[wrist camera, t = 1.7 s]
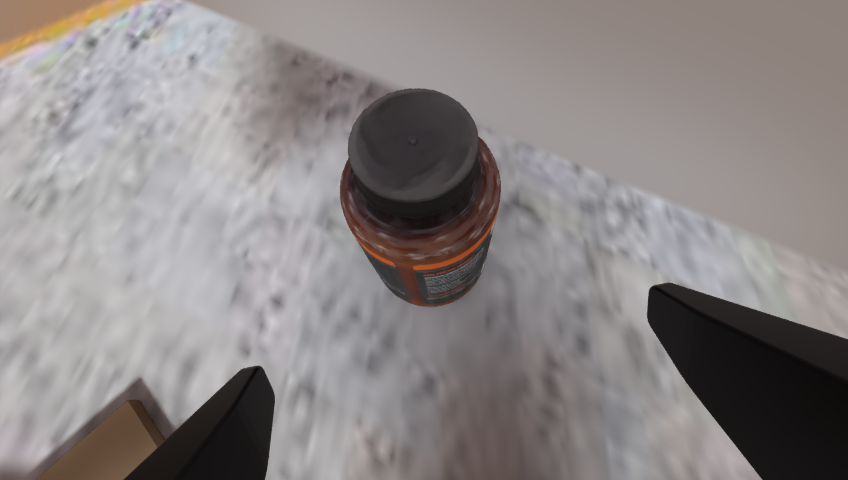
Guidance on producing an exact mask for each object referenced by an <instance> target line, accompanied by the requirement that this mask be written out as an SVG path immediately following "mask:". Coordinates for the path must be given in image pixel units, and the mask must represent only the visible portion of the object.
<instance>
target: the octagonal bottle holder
mask: <svg viewBox="0 0 848 480" xmlns="http://www.w3.org/2000/svg"><path fill="white" fill-rule="evenodd" d="M164 441H165V439H164V438H163V436H162V435H161V433H160V432H159V430H158V429H157V427H156V425H155V424H154V422H153V421H152V419H151V418H150V416H149V415H148V413H147V411H146V410H145V408H144V407H143V405H142V404H141V402H140V401H139V400H128V401H126V402H125V403H124V404H123V405H122V406H121V407H119V408H118V409H117V410H116V411H115V412H114V413H112V414H111V415H110V416H109V417H108V418H107V419H106V420H104V421H103V422H102V423H101V424H100V425H99V426H97V427H96V428H95V429H94V430H93V431H92V432H90V433H89V434H88V435H87V436H86V437H85V438H84V439H82V440H81V441H80V442H79V443H78V444H77V445H75V446H74V447H73V448H72V449H71V450H70V451H69V452H67V453H66V454H65V455H64V456H63V457H62V458H60V459H59V460H58V461H57V462H56V463H55V464H53V465H52V466H51V467H50V468H49V469H48V470H47V471H45V472H44V473H43V474H42V475H41V476H40V477H38V478H37V479H36V480H123V479H124V478H125V477H126V476H127V475H129V474H130V473H131V472H132V471H133V470H134V469H135V468H136V467H137V466H138V465H139V464H140V463H141V462H142V461H144V460H145V459H146V458H147V457H148V456H149V455H150V454H151V453H152V452H153V451H154V450H155V449H156V448H157V447H159V446H160V445H161V444H162V443H163V442H164Z"/></svg>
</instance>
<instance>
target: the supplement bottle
mask: <svg viewBox="0 0 848 480" xmlns="http://www.w3.org/2000/svg"><path fill="white" fill-rule="evenodd" d="M348 155H349V158H348V160H347V162H346V164H345V168H344V170H343V173H342V178H341V184H340V199H341V205H342V209H343V213H344V216H345V218H346V221H347V223H348V226H349V228H350V230H351V231H352V233H353V235H354V236H355V238H356V240H357V241H358V243H359V244H360V246H361V247H362V249H363V251H364V252H365V254H366V256H367V257H368V259H369V260H370V262H371V263H372V265H373V267H374V268H375V270H376V271H377V273H378V274H379V276H380V278H381V279H382V281H383V282H384V283H385V285H386V286H387V287H388V288H389V289H390V290H391V291H392V292H393V293H394V294H395V295H396V296H398V297H399V298H401V299H403V300H405V301H407V302H409V303H412V304H415V305H419V306H426V307H436V306H441V305H445V304H448V303H451V302H454V301H456V300H457V299H459V298H461V297H462V296H464V295H465V294H466V293H467V292H469V291H470V290H471V288H472V287H473V286H474V285H475V283H476V282H477V280H478V278H479V276H480V275H481V272H482V270H483V267H484V264H485V259H486V256H487V252H488V248H489V244H490V240H491V237H492V232H493V228H494V224H495V219H496V215H497V211H498V207H499V202H500V193H501V181H500V175H499V171H498V168H497V165H496V162H495V159H494V157H493V155H492V153H491V151H490V149H489V148H488V147H487V145H486V144H485V142H484V141H483V140H482V139H481V138H480V137H478V131H477V128H476V125H475V123H474V121H473V119H472V117H471V116H470V114H469V113H468V111H467V110H466V109H465V108H464V107H463V106H462V105H461V104H460V103H459V102H457V101H456V100H454V99H453V98H451V97H449V96H448V95H445V94H443V93H440V92H437V91H434V90H428V89H404V90H400V91H396V92H393V93H389V94H387V95H385V96H383V97H381V98H380V99H378V100H376V101H375V102H374V103H372V104H371V105H370V106H369V107H368V108H366V109H364V111H363V112H362V114H361V115H360V116H359V117H358V119H357V120H356V122H355V123H354V125H353V127H352V131H351V133H350V137H349V143H348Z"/></svg>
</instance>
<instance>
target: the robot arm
mask: <svg viewBox="0 0 848 480" xmlns="http://www.w3.org/2000/svg"><path fill="white" fill-rule="evenodd" d="M647 318H648V322H649V325H650V326H651V328H652V330H653V331H654V333H655V334H656V336H657V338H658V339H659V341H660V342H661V344H662V345H663V347H664V349H665V350H666V352H667V353H668V355H669V357H670V358H671V360H672V361H673V363H674V364H675V366H676V368H677V369H678V371H679V372H680V374H681V375H682V377H683V378H684V380H685V381H686V383H687V384H688V385H689V387H690V388H691V389H692V391H693V392H694V393H695V395H696V396H697V397H698V398H699V400H700V401H701V402H702V403H703V405H704V406H705V407H706V409H707V410H708V411H709V412H710V414H711V415H712V416H713V417H714V419H715V420H716V421H717V423H718V424H719V425H720V426H721V428H722V429H723V430H724V431H725V433H726V434H727V435H728V436H729V438H730V439H731V440H732V442H733V443H734V444H735V445H736V447H737V448H738V449H739V450H740V452H741V453H742V454H743V456H744V457H745V458H746V459H747V461H748V462H749V463H750V464H751V466H752V467H753V468H754V470H755V471H756V472H757V473H758V475H759V476H760V477H761V478H762V480H848V339H845V338H842V337H839V336H836V335H833V334H830V333H827V332H823V331H820V330H817V329H814V328H811V327H808V326H805V325H801V324H798V323H795V322H792V321H789V320H786V319H783V318H779V317H776V316H773V315H770V314H767V313H764V312H761V311H757V310H754V309H751V308H748V307H745V306H742V305H739V304H735V303H732V302H729V301H726V300H723V299H720V298H717V297H714V296H710V295H707V294H704V293H701V292H698V291H695V290H692V289H688V288H685V287H682V286H679V285H676V284H673V283H663V284H659V285H654V286H652V287H651V288H650V290H649V296H648V309H647ZM274 405H275V395H274V391H273V389H272V387H271V384H270V382H269V380H268V378H267V376H266V373H265V371H264V369H263V368H262V367H261V366H253V367H248V368H243V369H241V370H240V371H239V372H238V373H237V374H236V375H235V376H233V377H232V378H231V379H230V380H229V381H228V382H227V383H226V384H225V385H224V386H223V387H222V388H221V389H220V390H218V391H217V392H216V393H215V394H214V395H213V396H212V397H211V398H210V399H209V400H208V401H207V402H206V403H205V404H203V405H202V406H201V407H200V408H199V409H198V410H197V411H196V412H195V413H194V414H193V415H192V416H191V417H190V418H189V419H187V420H186V421H185V422H184V423H183V424H182V425H181V426H180V427H179V428H178V429H177V430H176V431H175V432H174V433H172V434H171V435H170V436H169V437H168V438H167V439H166V440H165V441H164V442H163V443H162V444H161V445H160V446H159V447H157V448H156V449H155V450H154V451H153V452H152V453H151V454H150V455H149V456H148V457H147V458H146V459H145V460H144V461H142V462H141V463H140V464H139V465H138V466H137V467H136V468H135V469H134V470H133V471H132V472H131V473H130V474H129V475H127V476H126V477H125V478H124V479H123V480H265V477H266V472H267V466H268V459H269V450H270V441H271V432H272V423H273V414H274Z"/></svg>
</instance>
